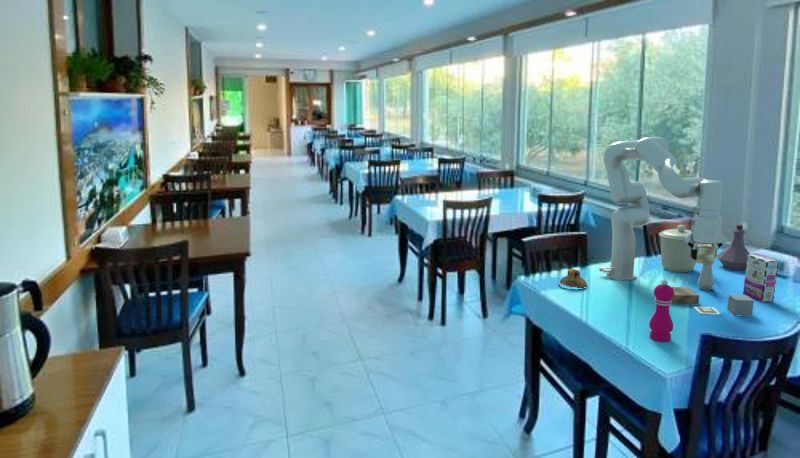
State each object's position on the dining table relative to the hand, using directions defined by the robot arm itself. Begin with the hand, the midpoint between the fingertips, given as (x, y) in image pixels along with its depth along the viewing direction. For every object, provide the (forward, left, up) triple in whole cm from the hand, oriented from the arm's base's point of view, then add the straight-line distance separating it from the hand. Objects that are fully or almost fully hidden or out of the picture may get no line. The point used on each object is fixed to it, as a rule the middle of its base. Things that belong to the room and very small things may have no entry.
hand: (702, 258), depth 215 cm
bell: (-46, +14, -17) cm, 51 cm away
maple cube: (0, 0, -1) cm, 1 cm away
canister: (+6, +44, -17) cm, 47 cm away
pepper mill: (-25, -39, -17) cm, 50 cm away
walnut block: (-7, 0, -17) cm, 19 cm away
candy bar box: (+24, +6, -17) cm, 30 cm away
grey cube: (+10, -12, -17) cm, 23 cm away
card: (-1, -12, -17) cm, 21 cm away
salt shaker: (+8, +16, -17) cm, 25 cm away
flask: (+33, +50, -17) cm, 62 cm away
